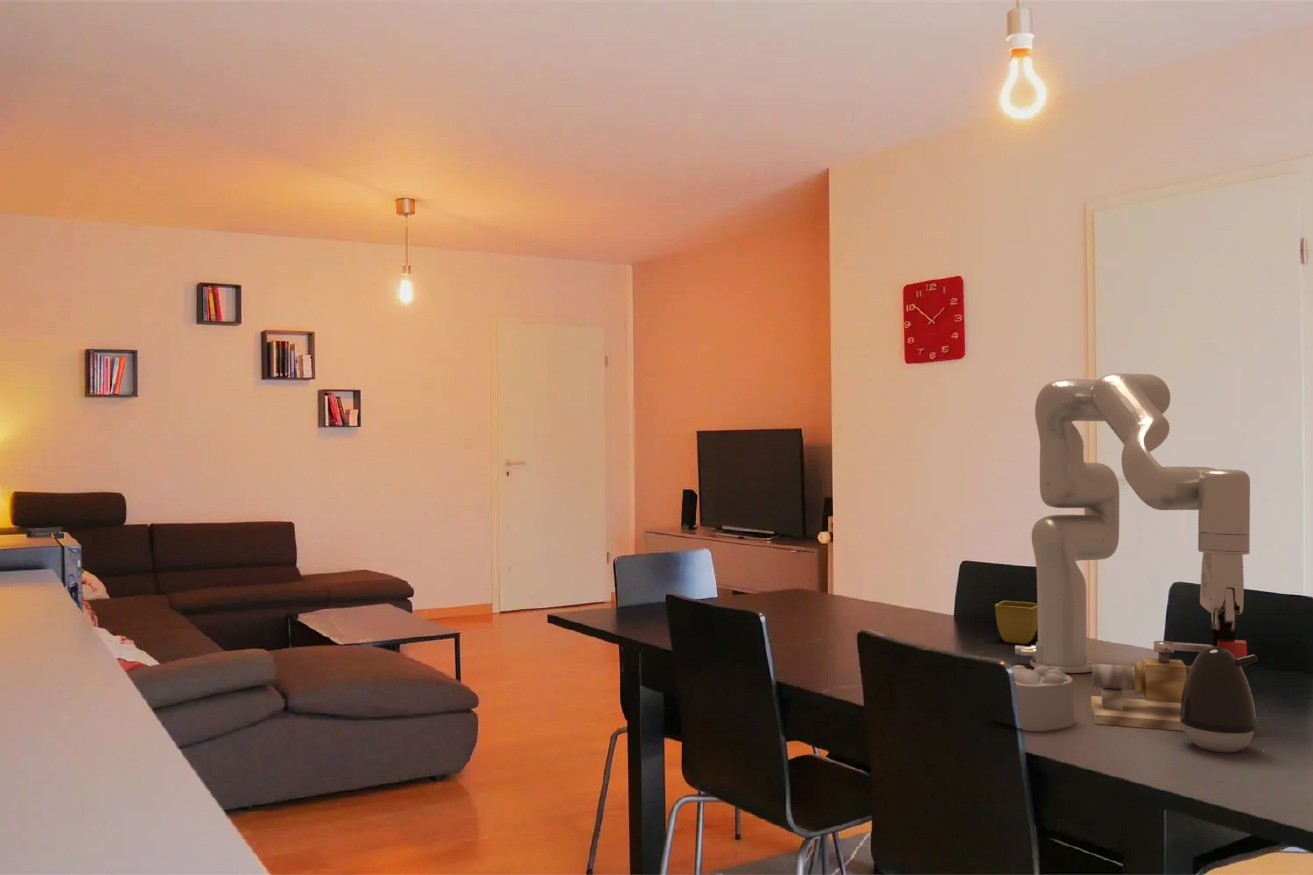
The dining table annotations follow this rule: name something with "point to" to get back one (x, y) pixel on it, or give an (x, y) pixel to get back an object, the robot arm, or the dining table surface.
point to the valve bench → (1152, 680)
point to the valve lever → (1203, 647)
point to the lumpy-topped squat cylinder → (1044, 698)
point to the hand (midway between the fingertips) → (1222, 653)
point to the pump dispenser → (1218, 702)
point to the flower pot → (1016, 621)
